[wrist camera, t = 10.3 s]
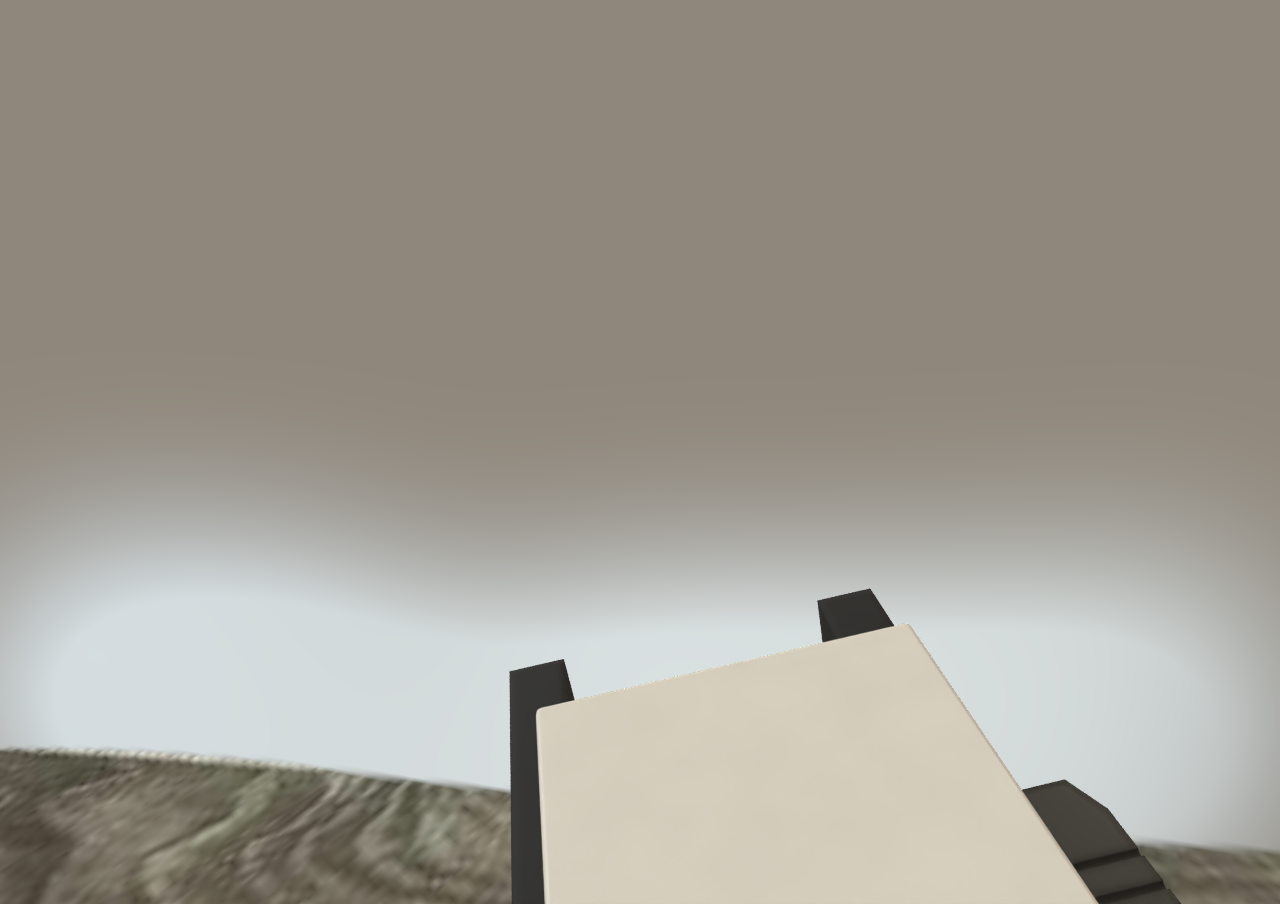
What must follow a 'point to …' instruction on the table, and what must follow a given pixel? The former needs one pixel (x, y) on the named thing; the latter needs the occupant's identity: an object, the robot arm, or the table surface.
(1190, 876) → the table surface
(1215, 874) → the table surface
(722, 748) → the block on pink pedestal
